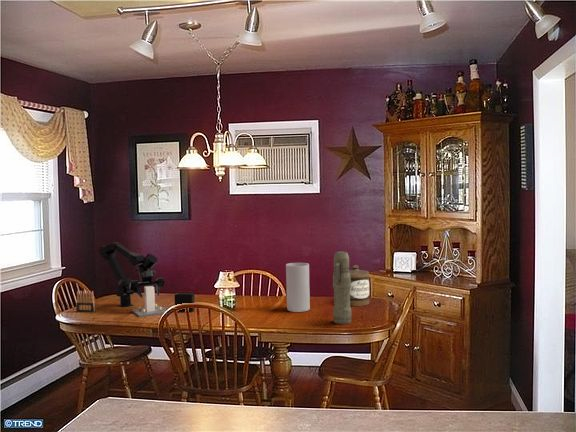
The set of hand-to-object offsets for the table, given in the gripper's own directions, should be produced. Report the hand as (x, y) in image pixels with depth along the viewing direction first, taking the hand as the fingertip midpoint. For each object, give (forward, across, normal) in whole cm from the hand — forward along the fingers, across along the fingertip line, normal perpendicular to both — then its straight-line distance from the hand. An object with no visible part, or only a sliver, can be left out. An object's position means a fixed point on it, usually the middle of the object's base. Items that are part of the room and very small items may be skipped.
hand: (150, 296), depth 316 cm
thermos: (+59, +76, -46) cm, 107 cm away
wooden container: (+37, +106, -24) cm, 115 cm away
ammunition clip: (-10, -30, +23) cm, 39 cm away
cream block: (+5, 0, +7) cm, 8 cm away
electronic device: (+12, +17, +1) cm, 21 cm away
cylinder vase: (+34, +71, -21) cm, 81 cm away
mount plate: (+5, 0, +7) cm, 9 cm away
